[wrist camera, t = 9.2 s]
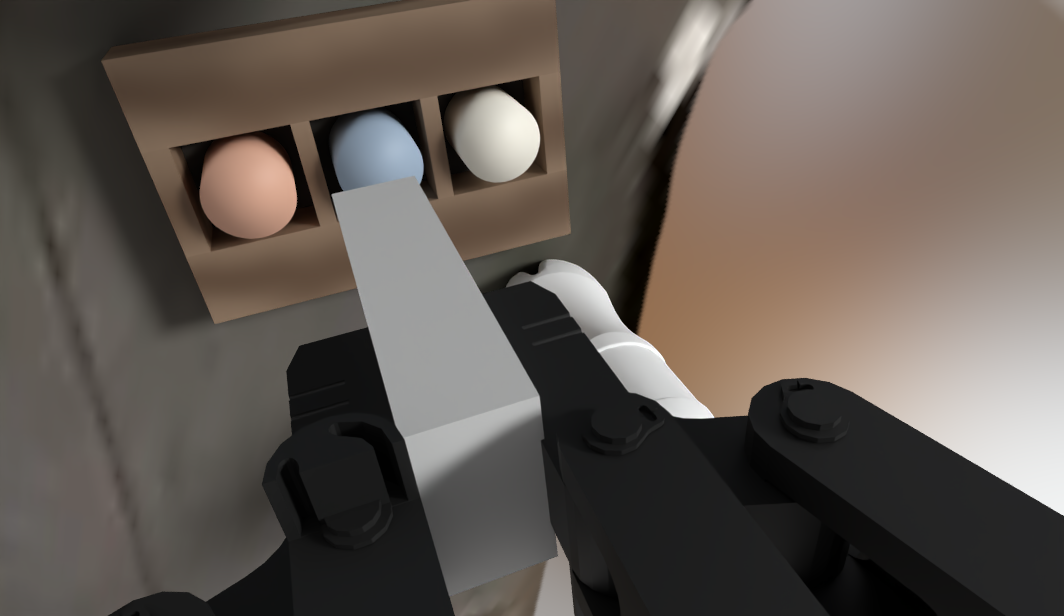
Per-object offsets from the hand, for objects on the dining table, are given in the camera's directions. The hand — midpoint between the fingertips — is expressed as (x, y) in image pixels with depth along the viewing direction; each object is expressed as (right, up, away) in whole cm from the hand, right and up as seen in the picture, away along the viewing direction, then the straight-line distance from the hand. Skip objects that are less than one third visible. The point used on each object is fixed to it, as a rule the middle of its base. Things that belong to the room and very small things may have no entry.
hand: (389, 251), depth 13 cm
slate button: (-6, +8, +25) cm, 27 cm away
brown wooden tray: (-6, +8, +25) cm, 27 cm away
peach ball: (-13, +6, +24) cm, 28 cm away
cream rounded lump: (0, +10, +27) cm, 28 cm away
